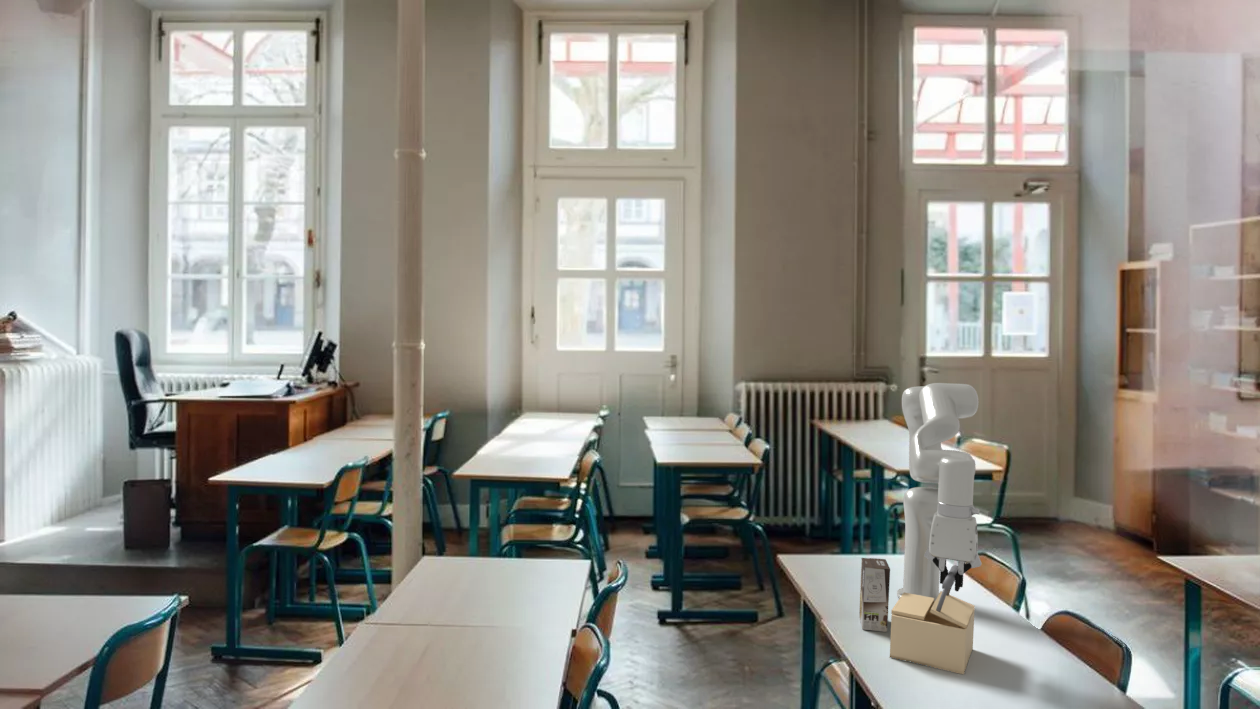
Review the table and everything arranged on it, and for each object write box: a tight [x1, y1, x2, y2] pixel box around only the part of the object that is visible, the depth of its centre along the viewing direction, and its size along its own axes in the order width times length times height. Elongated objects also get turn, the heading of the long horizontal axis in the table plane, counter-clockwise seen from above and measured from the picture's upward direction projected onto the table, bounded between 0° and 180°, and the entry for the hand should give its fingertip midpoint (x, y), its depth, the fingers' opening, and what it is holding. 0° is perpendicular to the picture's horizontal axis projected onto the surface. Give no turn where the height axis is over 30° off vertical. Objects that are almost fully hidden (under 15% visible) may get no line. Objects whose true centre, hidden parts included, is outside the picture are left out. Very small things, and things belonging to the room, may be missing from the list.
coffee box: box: [858, 557, 891, 633], centre depth 204 cm, size 9×6×16 cm
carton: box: [889, 592, 976, 675], centre depth 187 cm, size 16×16×11 cm
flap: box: [930, 564, 976, 628], centre depth 184 cm, size 8×14×8 cm, turn 151°
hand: (951, 587), depth 184 cm, fingers closed on flap, 2 cm apart
